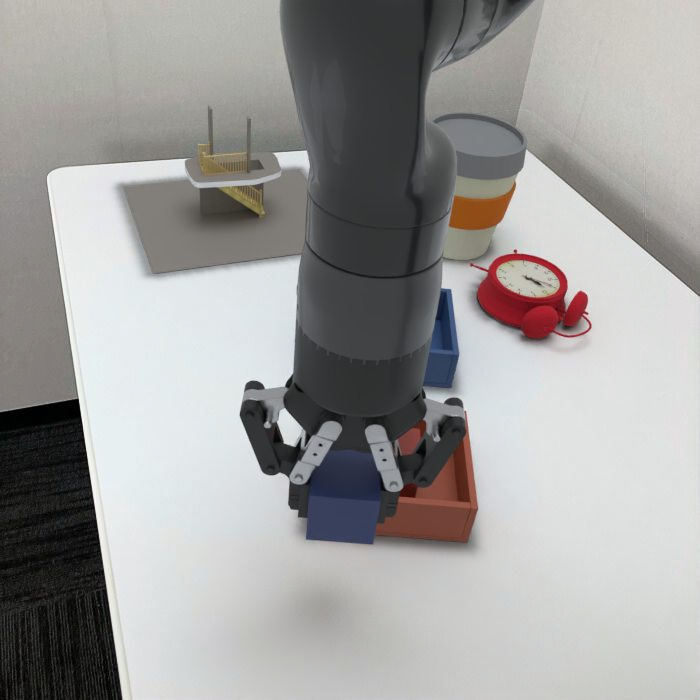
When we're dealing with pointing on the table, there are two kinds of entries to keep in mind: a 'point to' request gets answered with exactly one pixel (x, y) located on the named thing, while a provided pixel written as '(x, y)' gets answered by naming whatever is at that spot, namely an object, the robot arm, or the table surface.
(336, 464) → the navy block
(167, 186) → the architectural model
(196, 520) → the table surface
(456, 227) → the reusable coffee cup
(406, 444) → the red block
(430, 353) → the blue bin
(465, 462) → the terracotta bin
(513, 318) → the alarm clock
